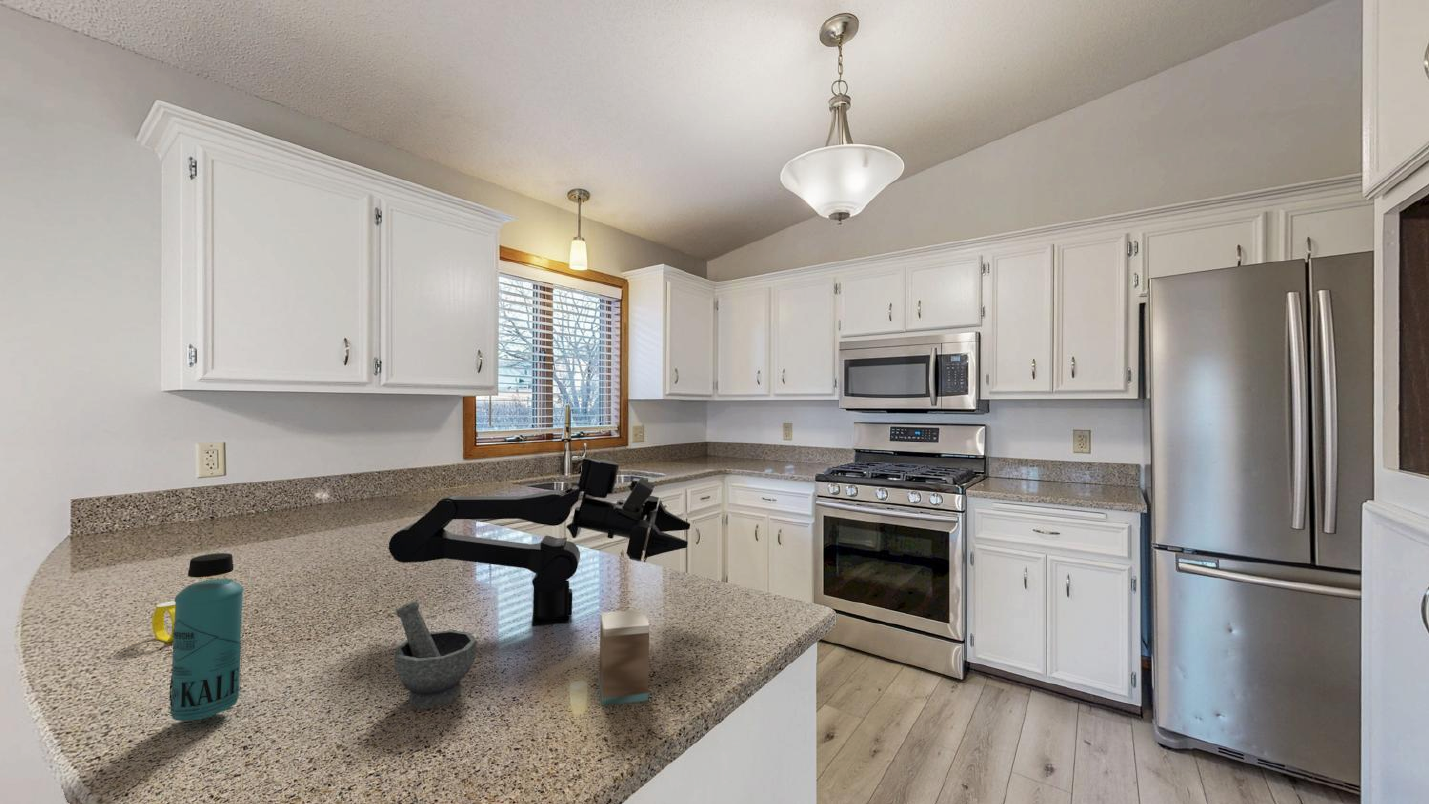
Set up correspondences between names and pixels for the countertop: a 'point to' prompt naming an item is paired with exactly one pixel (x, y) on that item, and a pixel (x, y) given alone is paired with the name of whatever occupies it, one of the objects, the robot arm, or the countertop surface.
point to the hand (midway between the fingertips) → (688, 535)
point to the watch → (159, 621)
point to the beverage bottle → (206, 641)
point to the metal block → (624, 657)
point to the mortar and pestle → (432, 660)
